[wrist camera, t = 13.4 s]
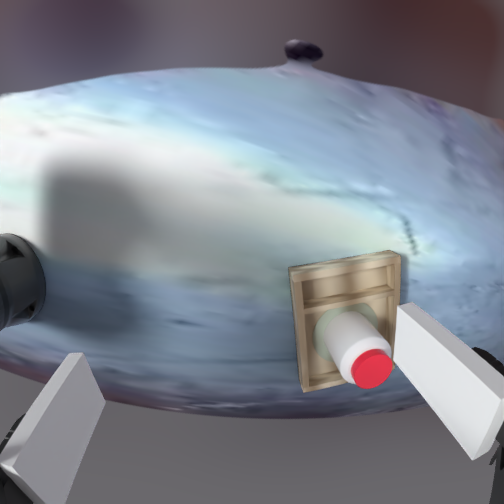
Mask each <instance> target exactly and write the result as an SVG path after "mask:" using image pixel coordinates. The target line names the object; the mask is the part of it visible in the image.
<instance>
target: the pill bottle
mask: <svg viewBox="0 0 504 504" xmlns="http://www.w3.org/2000/svg"><path fill="white" fill-rule="evenodd" d="M323 340H324V344H325V346H326V348H327V350H328V352H329V354H330V356H331V357H332V359H333V361H334V363H335V365H336V367H337V368H338V370H339V372H340V374H341V376H342V377H343V378H344V379H345V380H346V381H347V382H349V383H352V384H357V386H359V387H360V388H364V389H370V388H374V387H376V386H378V385H380V384H381V383H383V382H384V381H385V380H386V379H387V378H388V376H389V375H390V373H391V371H392V365H393V364H392V360H391V354H392V351H391V347H390V345H389V343H388V342H387V341H386V340H385V338H384V337H383V336H382V335H381V334H380V333H379V332H378V331H377V329H376V328H375V327H374V326H373V325H372V324H371V323H370V322H369V321H368V319H367V318H366V317H365V316H364V315H363V314H361V313H359V312H356V311H347V312H343V313H341V314H339V315H337V316H336V317H334V318H333V319H332V320H331V321H330V322H329V323H328V325H327V327H326V328H325V331H324V335H323Z"/></svg>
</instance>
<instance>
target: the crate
mask: <svg viewBox="0 0 504 504" xmlns="http://www.w3.org/2000/svg"><path fill="white" fill-rule="evenodd" d="M288 270H289V279H290V289H291V298H292V308H293V318H294V329H295V339H296V350H297V362H298V373H299V381H300V384H301V387H302V390H303V393H305V392H309V391H314V390H319V389H323V388H327V387H332V386H336V385H340V384H344V383H348V382H347V381H346V380H345V379H344V378H343V377H342V376H341V374H340V372H339V370H338V368H337V367H336V365H335V363H334V361H333V359H332V357H331V356H330V354H329V352H328V350H327V348H326V346H325V344H324V340H323V335H324V331H325V328H326V327H327V325H328V323H329V322H330V321H331V320H332V319H333V318H334V317H336V316H337V315H339V314H341V313H343V312H347V311H356V312H359V313H361V314H363V315H364V316H365V317H366V318H367V319H368V321H369V322H370V323H371V324H372V325H373V326H374V327H375V328H376V329H377V331H378V332H379V333H380V334H381V335H382V336H383V337H384V338H385V340H386V341H387V342H388V343H389V345H390V347H391V351H392V354H391V360H392V364H393V365H392V370H394V368H395V362H394V361H393V356H394V345H395V333H396V319H397V306H398V305H400V280H401V256H400V255H398V254H396V253H394V252H392V251H390V250H387V251H382V252H376V253H370V254H365V255H359V256H353V257H347V258H342V259H336V260H330V261H324V262H318V263H312V264H306V265H300V266H294V267H288Z"/></svg>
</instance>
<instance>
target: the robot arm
mask: <svg viewBox="0 0 504 504" xmlns="http://www.w3.org/2000/svg"><path fill="white" fill-rule="evenodd" d="M45 293H46V287H45V278H44V274H43V270H42V267H41V265H40V262H39V260H38V258H37V256H36V255H35V253H34V252H33V250H32V249H31V248H30V246H29V245H28V244H27V243H26V242H25V241H23V240H22V239H21V238H19V237H17V236H15V235H13V234H0V331H1V330H2V329H3V328H5V327H10V326H14V325H18V324H23V323H25V322H27V321H29V320H31V319H32V318H33V317H34V316H35V315H36V314H37V313H38V312H39V311H40V310H41V308H42V306H43V303H44V300H45ZM393 361H394V362H395V363H396V364H397V365H398V367H399V368H400V369H401V370H402V372H403V373H404V374H405V375H406V376H407V378H408V379H409V380H410V381H411V383H412V384H413V385H414V386H415V388H416V389H417V390H418V391H419V393H420V394H421V395H422V396H423V398H424V399H425V400H426V401H427V403H428V404H429V405H430V406H431V408H432V409H433V410H434V411H435V413H436V414H437V415H438V416H439V418H440V419H441V420H442V422H443V423H444V424H445V425H446V427H447V428H448V429H449V431H450V432H451V433H452V434H453V436H454V437H455V438H456V440H457V441H458V442H459V444H460V445H461V446H462V448H463V449H464V450H465V451H466V453H467V454H468V455H469V457H470V458H471V459H472V460H474V459H476V458H478V457H479V456H481V455H483V454H484V453H486V452H488V451H489V450H490V448H491V446H492V444H493V442H494V440H495V439H496V440H497V441H498V442H499V443H500V445H499V447H498V448H497V450H496V452H495V454H494V456H493V458H492V459H491V461H490V464H489V465H492V464H493V462H494V460H495V459H496V466H495V474H494V481H493V487H492V493H491V498H490V503H489V504H504V366H503V364H502V363H501V362H500V361H498V360H496V358H495V357H493V356H492V355H491V354H490V353H489V352H487V351H485V350H482V349H480V348H477V347H474V348H472V349H471V348H470V347H468V346H467V345H466V344H465V343H464V342H462V341H461V340H460V339H459V338H457V337H456V336H455V335H454V334H452V333H451V332H450V331H449V330H447V329H446V328H445V327H444V326H442V325H441V324H440V323H439V322H437V321H436V320H435V319H434V318H432V317H431V316H430V315H429V314H427V313H426V312H425V311H423V310H422V309H421V308H420V307H418V306H417V305H416V304H414V303H413V302H410V303H406V304H402V305H398V306H397V319H396V333H395V345H394V356H393ZM104 405H105V400H104V398H103V396H102V394H101V392H100V389H99V387H98V385H97V383H96V381H95V378H94V376H93V374H92V372H91V369H90V367H89V365H88V362H87V360H86V357H85V355H84V353H69V354H68V356H67V357H66V358H65V360H64V361H63V362H62V364H61V365H60V366H59V368H58V369H57V370H56V372H55V373H54V375H53V376H52V377H51V379H50V380H49V382H48V383H47V384H46V386H45V387H44V389H43V390H42V392H41V393H40V394H39V396H38V397H37V399H36V400H35V402H34V403H33V404H32V406H31V407H30V409H29V410H28V412H27V413H26V414H24V415H23V416H21V417H20V418H19V419H18V420H17V421H16V422H15V423H14V425H13V426H12V428H11V429H10V432H9V433H8V434H7V435H6V439H4V440H3V442H2V443H1V445H0V504H33V503H34V504H65V502H66V499H67V496H68V493H69V491H70V488H71V486H72V483H73V480H74V477H75V475H76V472H77V470H78V467H79V465H80V462H81V460H82V457H83V455H84V452H85V449H86V447H87V445H88V442H89V440H90V438H91V435H92V433H93V430H94V428H95V426H96V423H97V421H98V419H99V416H100V414H101V412H102V410H103V407H104Z"/></svg>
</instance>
